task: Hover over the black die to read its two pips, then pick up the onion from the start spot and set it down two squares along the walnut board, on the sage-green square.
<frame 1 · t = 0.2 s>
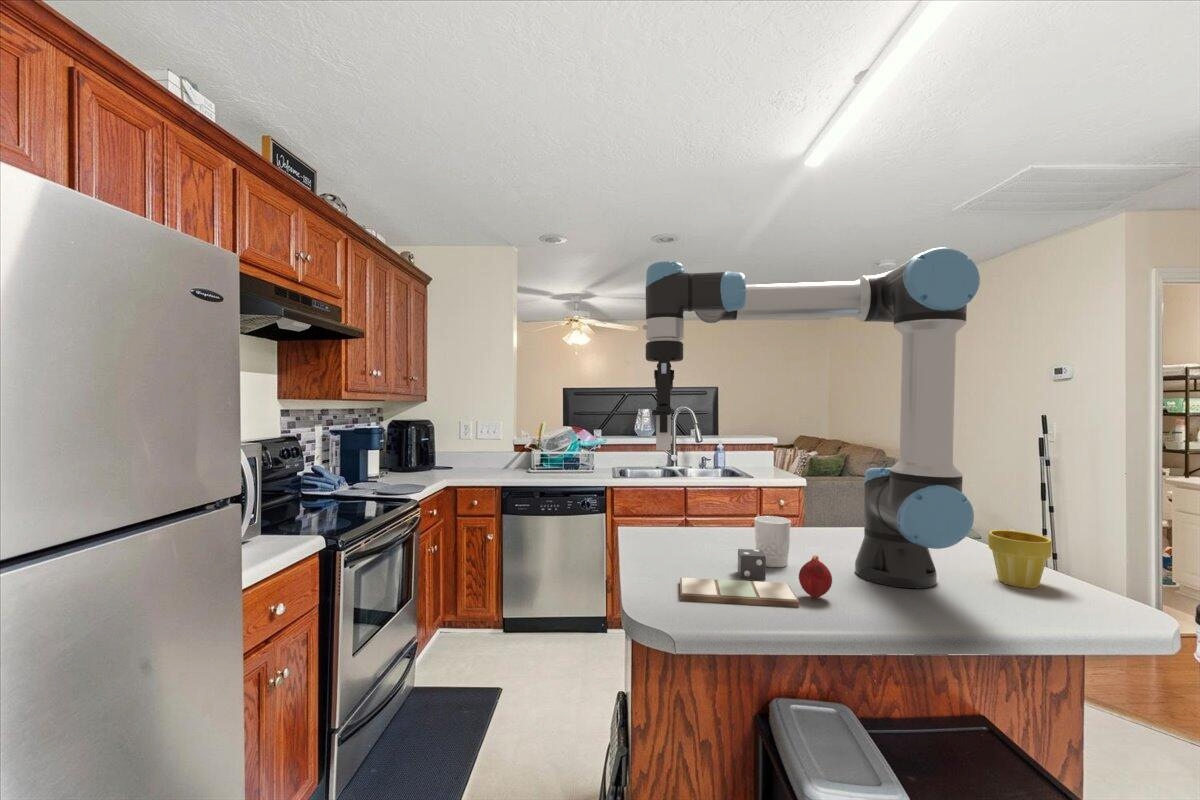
hand: (664, 447, 108), 27 cm above the countertop, fingers open, 13 cm apart
white cup: (772, 564, 124), on the countertop
die: (751, 576, 115), on the countertop
board: (735, 594, 103), on the countertop
plant pot: (1018, 584, 111), on the countertop
onion: (815, 599, 101), on the countertop
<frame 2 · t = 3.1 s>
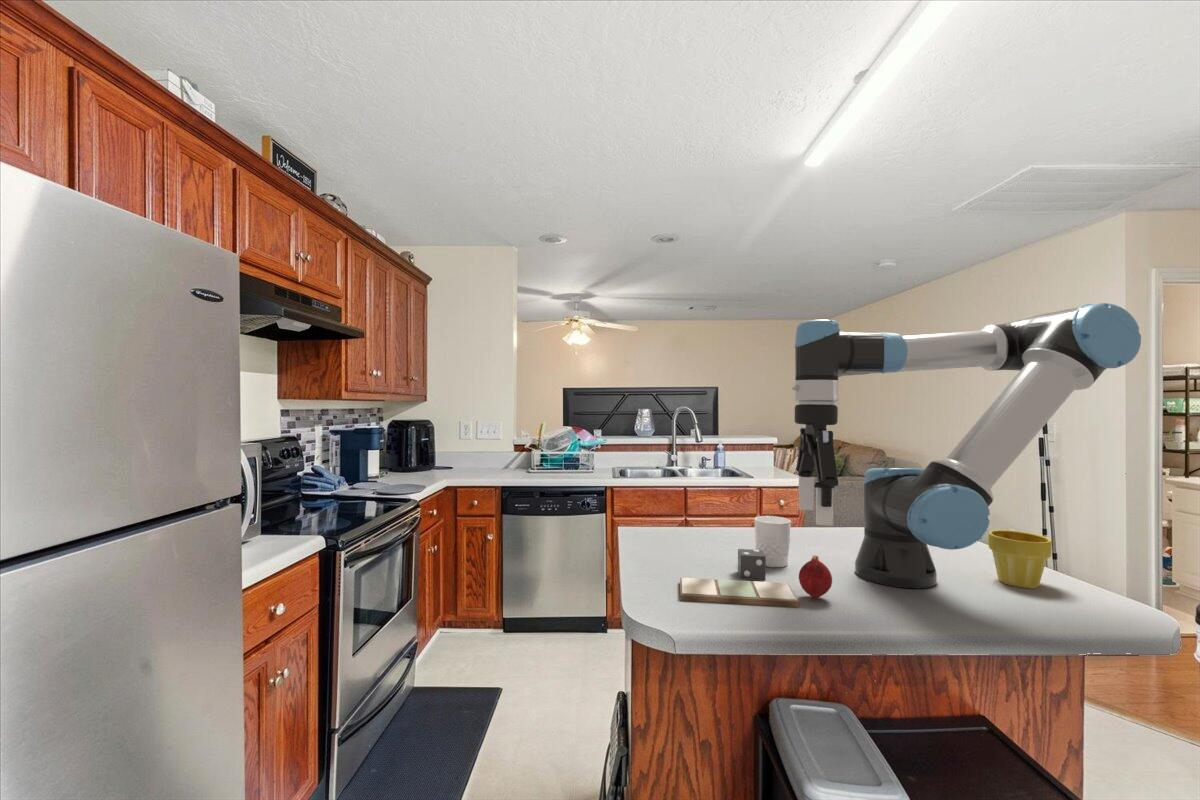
hand: (814, 516, 102), 15 cm above the countertop, fingers open, 13 cm apart
nothing on the countertop moved.
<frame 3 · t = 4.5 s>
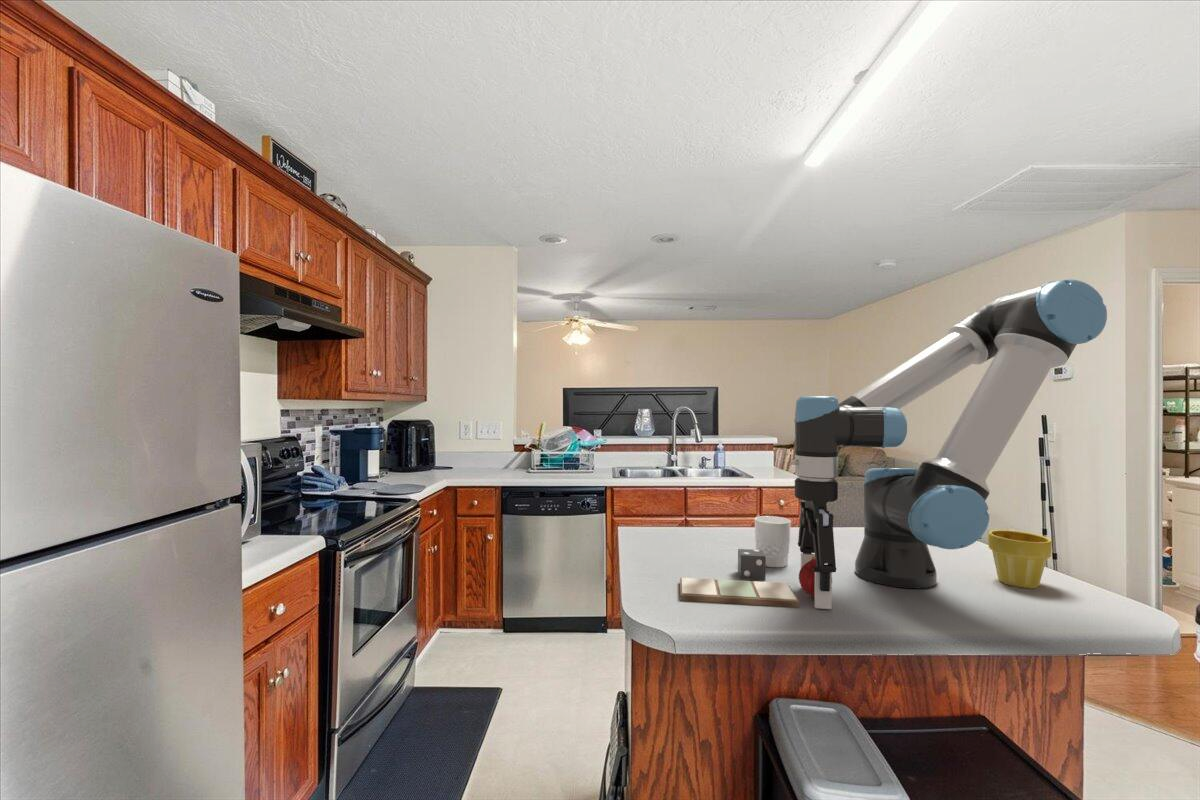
hand: (815, 597, 101), 0 cm above the countertop, fingers open, 10 cm apart
nothing on the countertop moved.
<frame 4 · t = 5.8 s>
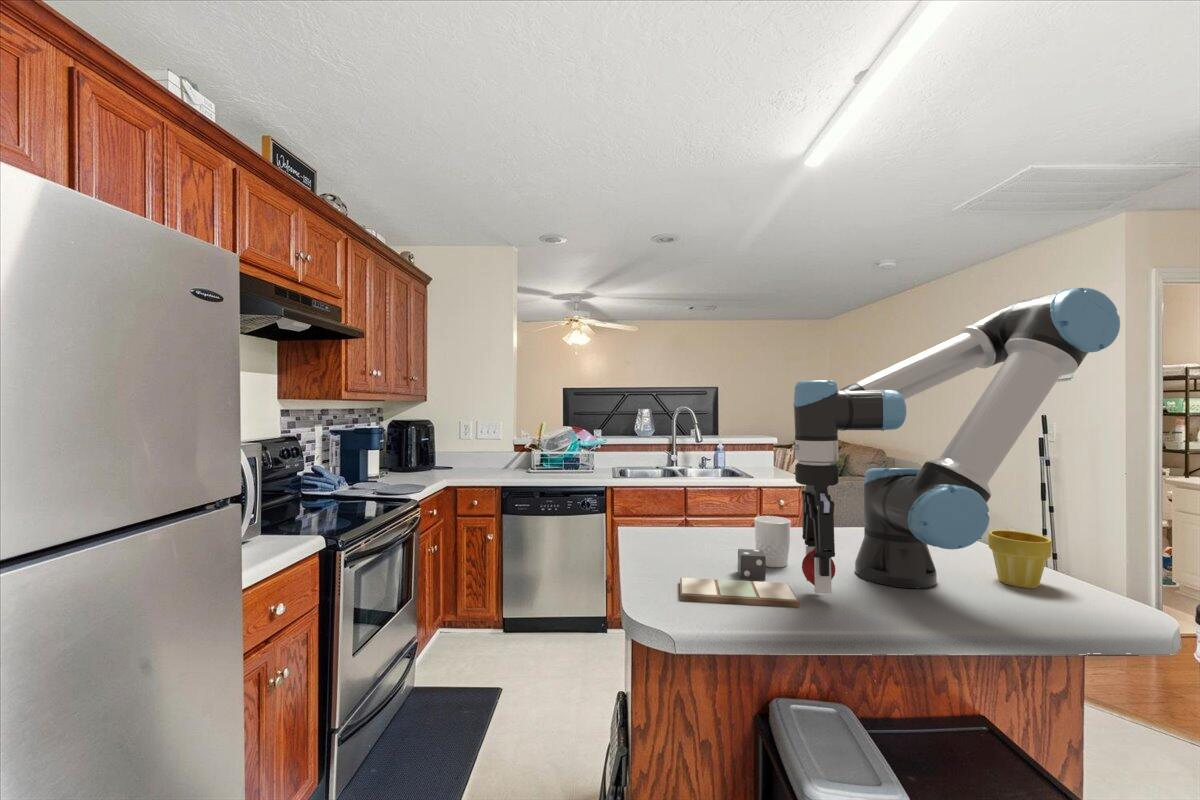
hand: (818, 586, 101), 2 cm above the countertop, fingers closed on onion, 6 cm apart
onion: (818, 588, 101), point 2 cm above the countertop, touching gripper
everything else where it was.
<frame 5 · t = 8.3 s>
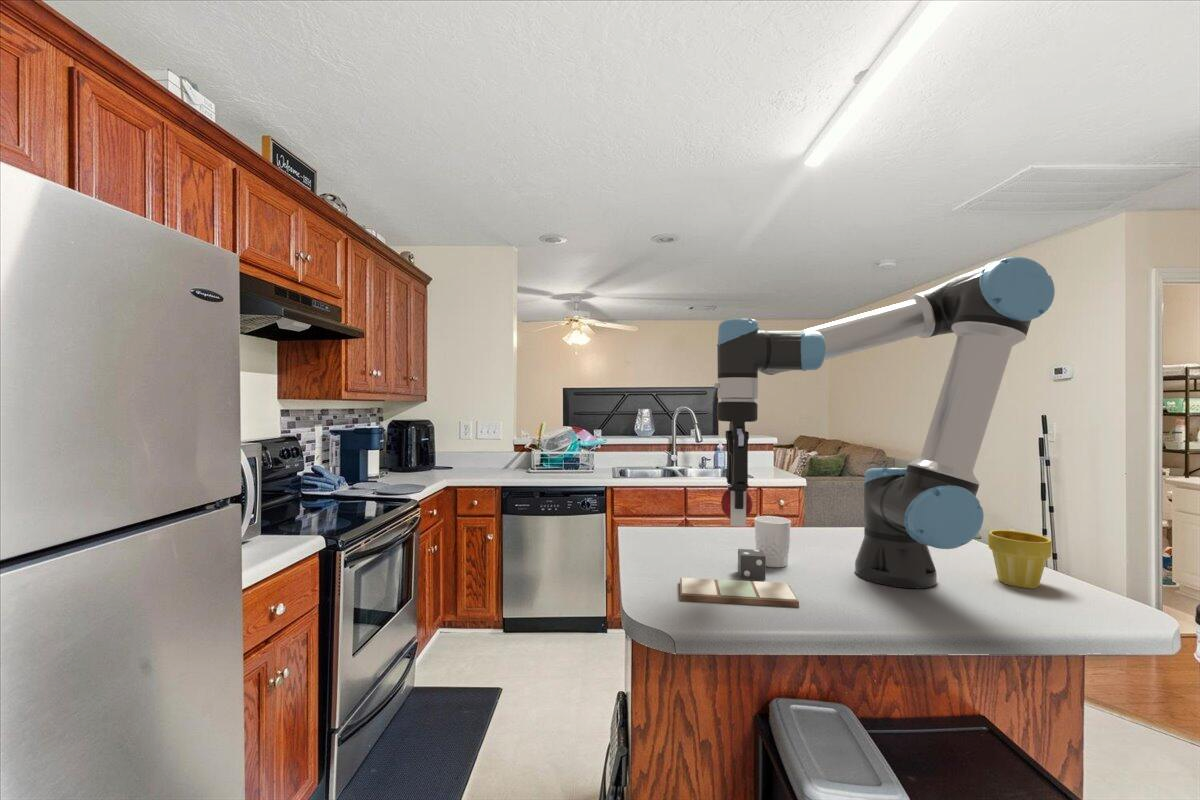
hand: (736, 521, 104), 14 cm above the countertop, fingers closed on onion, 6 cm apart
onion: (736, 524, 103), point 13 cm above the countertop, touching gripper
everything else where it was.
when the fingers open (2 cm above the countertop, at t = 10.6 s): onion stays where it is, resting on board.
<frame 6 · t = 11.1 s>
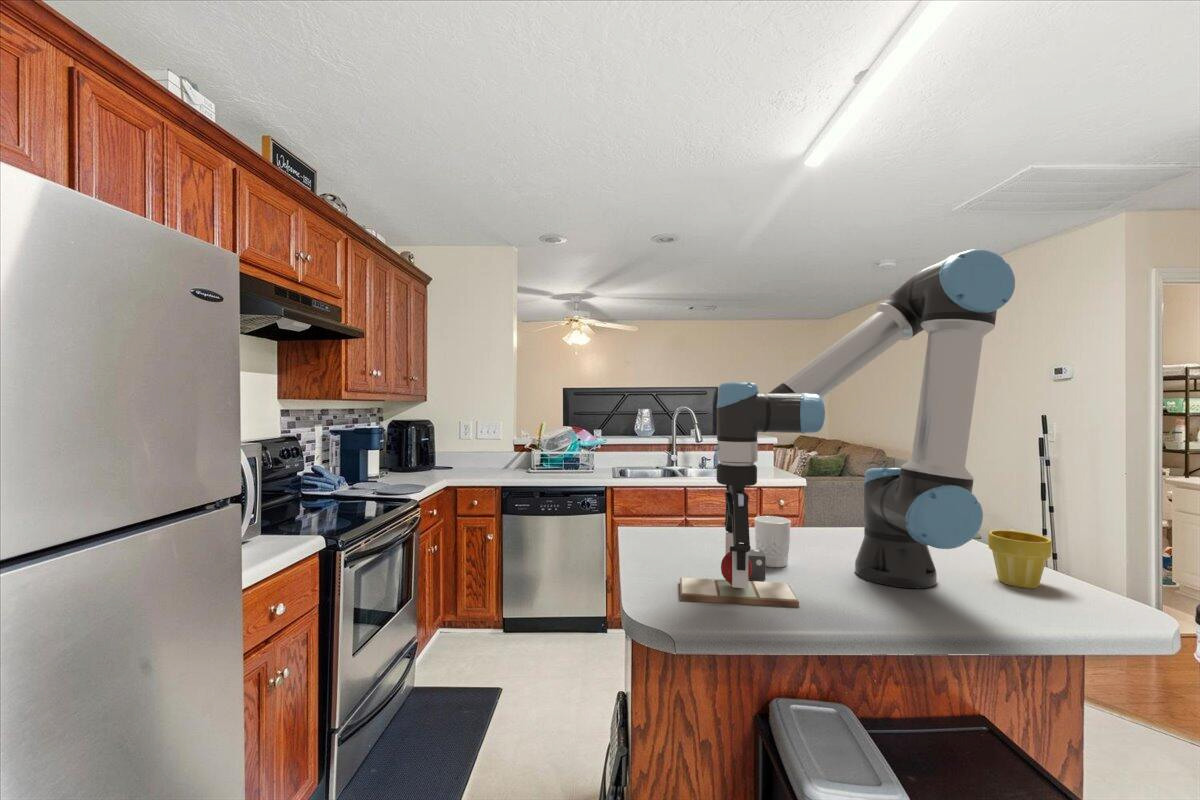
hand: (736, 575, 103), 4 cm above the countertop, fingers open, 12 cm apart
onion: (736, 588, 103), point 1 cm above the countertop, touching board
everything else where it was.
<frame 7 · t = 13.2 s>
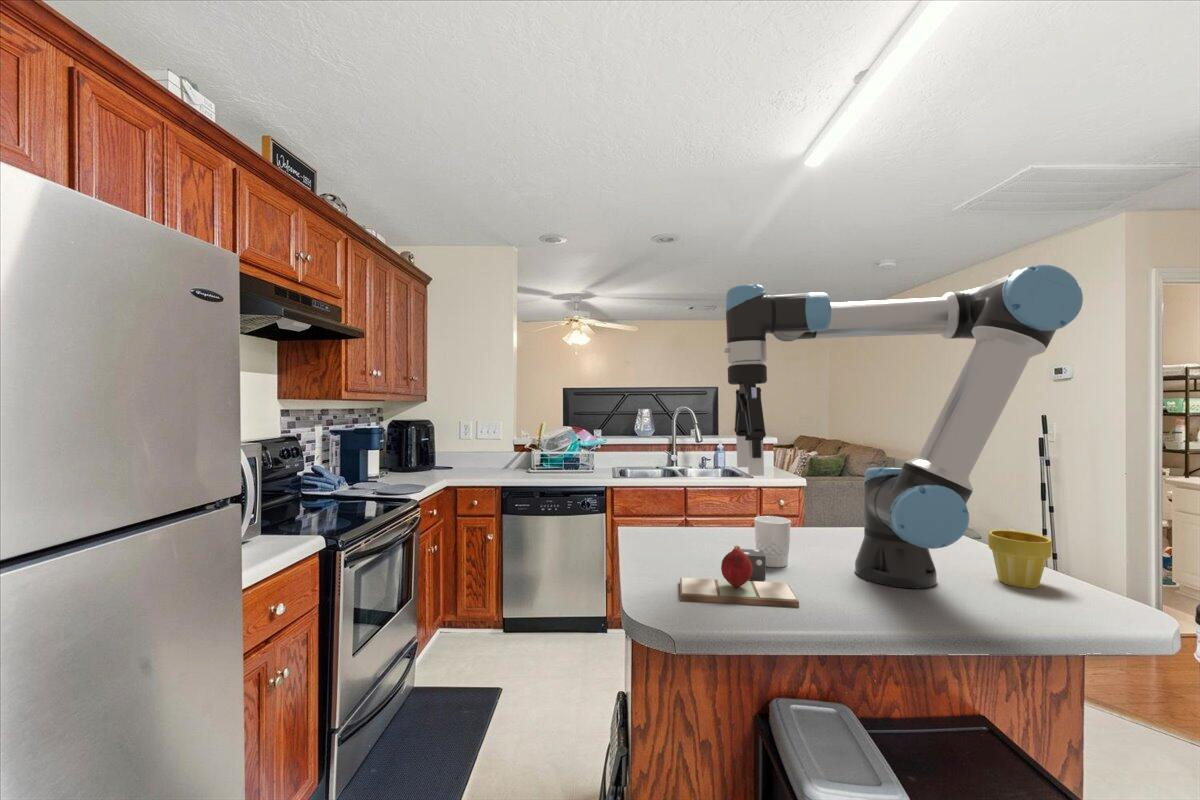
hand: (749, 471, 108), 23 cm above the countertop, fingers open, 13 cm apart
nothing on the countertop moved.
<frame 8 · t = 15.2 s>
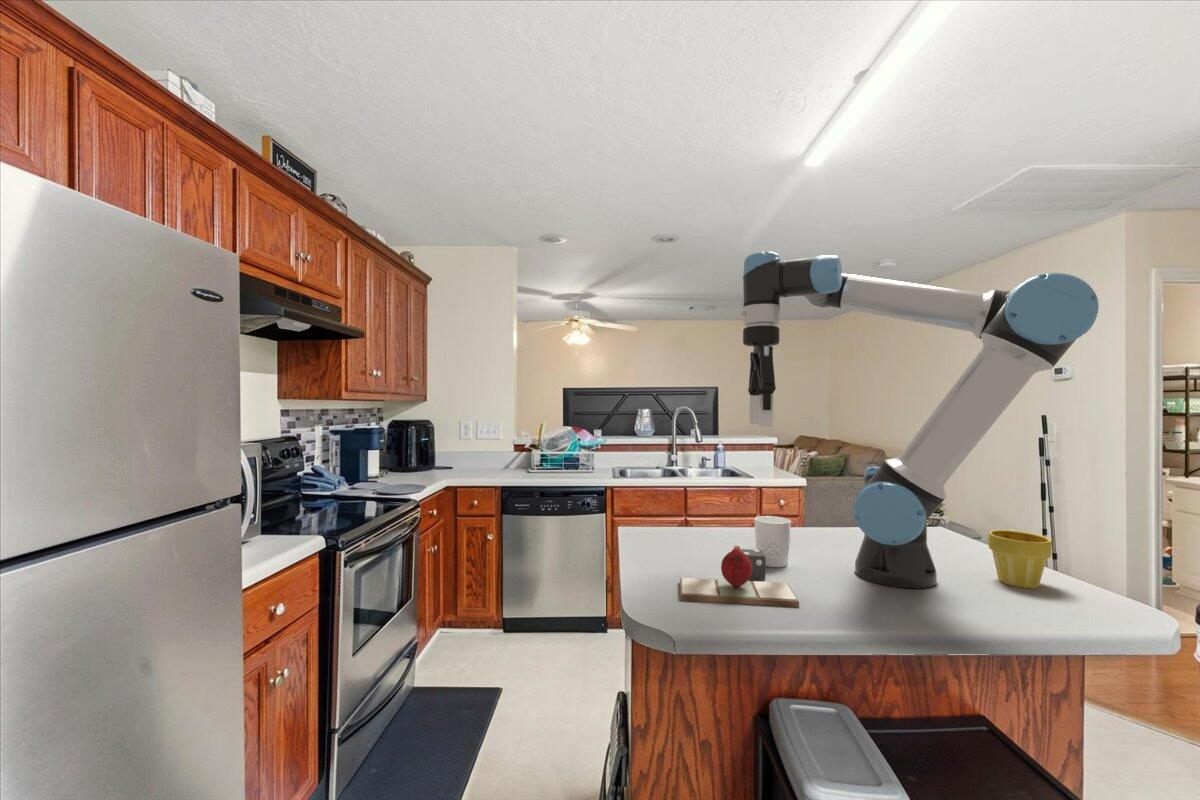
hand: (760, 425, 117), 32 cm above the countertop, fingers open, 13 cm apart
nothing on the countertop moved.
at the end: onion 0.1 cm off-centre on the board, point 1.0 cm above the board's base; the gripper is holding nothing; die moved 0.1 cm from its start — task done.
